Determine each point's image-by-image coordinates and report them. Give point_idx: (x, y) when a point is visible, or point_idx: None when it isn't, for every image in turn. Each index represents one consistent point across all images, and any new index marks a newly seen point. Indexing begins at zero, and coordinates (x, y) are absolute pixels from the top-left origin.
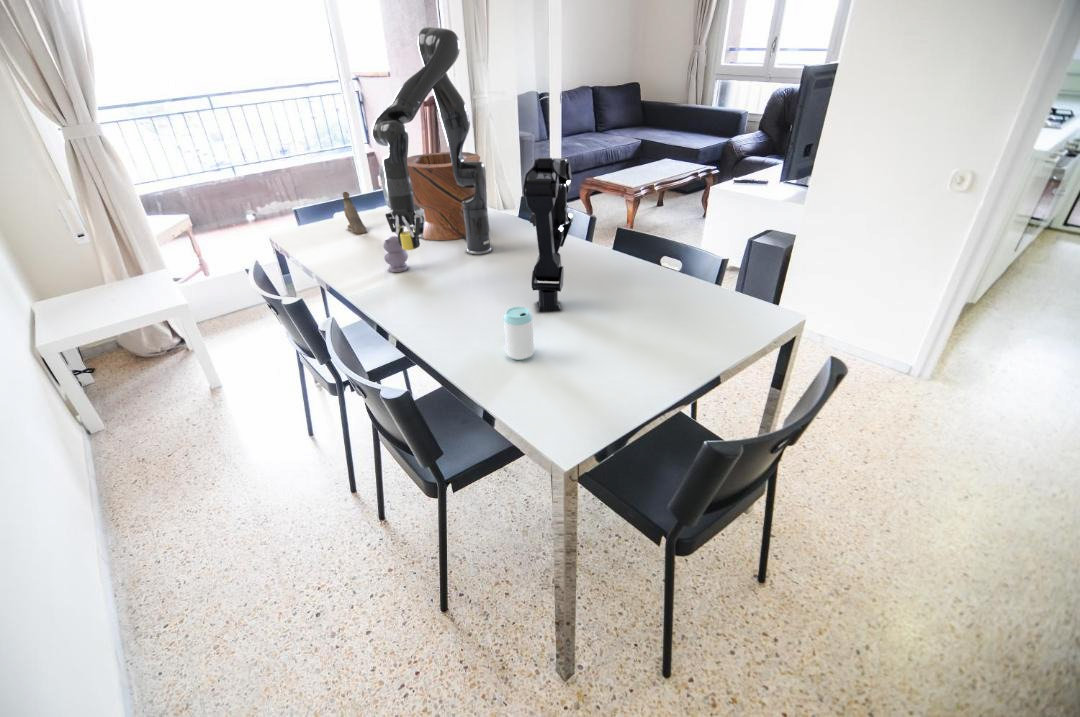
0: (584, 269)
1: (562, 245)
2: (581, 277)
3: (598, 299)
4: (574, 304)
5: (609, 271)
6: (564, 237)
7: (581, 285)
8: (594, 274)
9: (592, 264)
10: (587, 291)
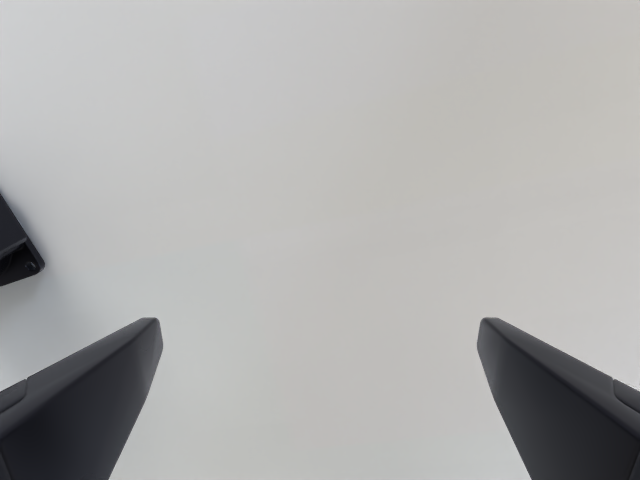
0: (543, 319)
1: (482, 357)
2: (416, 323)
3: (155, 431)
4: (58, 347)
5: (510, 435)
6: (531, 458)
7: (302, 340)
8: (465, 377)
9: (624, 348)
10: (231, 378)
